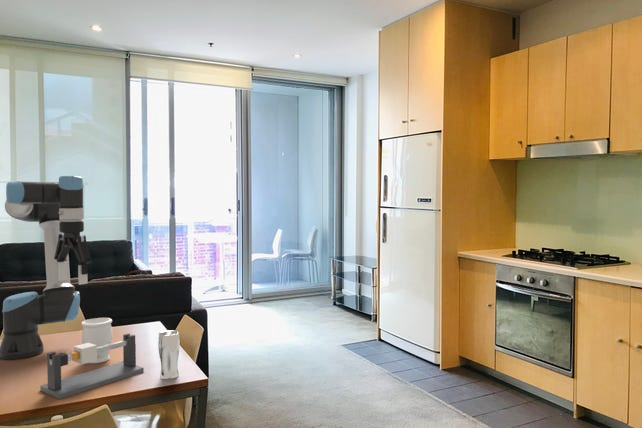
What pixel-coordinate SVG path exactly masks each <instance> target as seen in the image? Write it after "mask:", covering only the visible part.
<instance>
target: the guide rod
mask: <svg viewBox="0 0 642 428" xmlns="http://www.w3.org/2000/svg"><path fill="white" fill-rule="evenodd" d="M126 345H128V339H127V340H123V339H122V340H120V341H115V342H112V343H111V344H107V345H103V346H99V347H97V353H100V352H104V351H108V350H110V351H112V350H114V349H115V350H116V349H119V348H123V346H126ZM58 354H61V367H64V366H67V365H69V362H71V361H72V362H74V361H75V360H79V359H80V352H77V351H75V352H74V351H72V352H69V354H68V353H65V352H60V353H58ZM49 363H50V365H52V359H49Z"/></svg>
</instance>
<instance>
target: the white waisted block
mask: <svg viewBox="0 0 642 428" xmlns="http://www.w3.org/2000/svg"><path fill="white" fill-rule="evenodd" d="M180 344H181V342H180V332H179V331H178V330H173V329H171V330H169V329H168V330H162V331H160V332H159V333H158V344H157V345H158V347H157V348H158V354H159V359H160V360H159V361H160V374H159V379H161V380H167V381H168V380H173V379H176V378H178V377H179V375H180V374H179V368H178V360H179V356H180V346H181V345H180Z"/></svg>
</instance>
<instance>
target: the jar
mask: <svg viewBox="0 0 642 428" xmlns="http://www.w3.org/2000/svg"><path fill="white" fill-rule="evenodd" d="M112 323H113V319H112V318H110V317H97V318H96V317H95V318H89V319H88V318H87V319H85V320H83V321H81V326H82V327H83V328H82V332H81V344H85V343H91V344H95V345H97V347H99V346H103V345H107V344H111V343H113V327H112ZM110 353H111V350H108V351H104V352H100V353H97V360H96V361H93V362H89V363H88V364H92V365H93V364H103V363H105V362H107V361H109V360H110V358H111V357H110V355H109V354H110Z"/></svg>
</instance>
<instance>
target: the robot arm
mask: <svg viewBox="0 0 642 428" xmlns="http://www.w3.org/2000/svg"><path fill="white" fill-rule="evenodd" d="M5 187H6V188H5V194H6V195H5V196H6V198H5V202H4V210H5V212H6V213H7V214H8V215H9V216H10V217H12V218H13V219H16V220H17V221H23V222H29V223H33V222H34V223H36V222H37V223H38V226H39V228H41V229H43V230H42V231H43V240H44V258H45V275H46V286H45V288H44V289H43V290H42V294H38V292H37V291H27V292H22V293H17V294H14V295H13V294H12V295H10V296H8V297H5V298H4V300H3V302H2V311H1V312H2V315H3V316H2V321H3V322H2V325H3V326H2V327H3V330H2V331H3V335H2V336H3V337H2V340H1V342H0V359H1V360H19V359H25V358H31V357H35V356H38V355H40V354H42V353H43V352H44V346H45V345H44V343H43V340H42V338H41V336H40V334H39V326H40V325H47V324H55V323H65V322H69V321H75V320H76V319H77V318H78V315H79V312H80V303H81V295H80V291H77V290H76V287H75V286H74V285H73V284H72V283H71V273H70V257H69V253H70V250H73V251H74V253H75V254H74V255H75V256H76V258H77V261H78V262H79V263H77V266H78V267H77V269H78V271H77V273H78V274H77V277H78V285H80V286H81V285H86V284H87V285H88V280H89V279H88V265H89V264H92V262H93V261H92V258H91V254H90V251H89V250H90V249H89V246H88V244H87V235H85V234H83V235H81V233H83V232H84V231H85V225H84V224H85V222H84V221H83V220H84V219H85V218H84V213H85V211H84V180H83V177H82V176H79V175H78V176H77V175H61V176H59V177H58V182H57V181H56V182H54V181H53V182H51V181H50V182H49V181H48V182H47V181H46V182H44V181H43V182H42V181H41V182H40V181H39V182H38V181H37V182H36V181H35V182H34V181H33V182H32V181H9V182H7V183H6V185H5Z"/></svg>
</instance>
